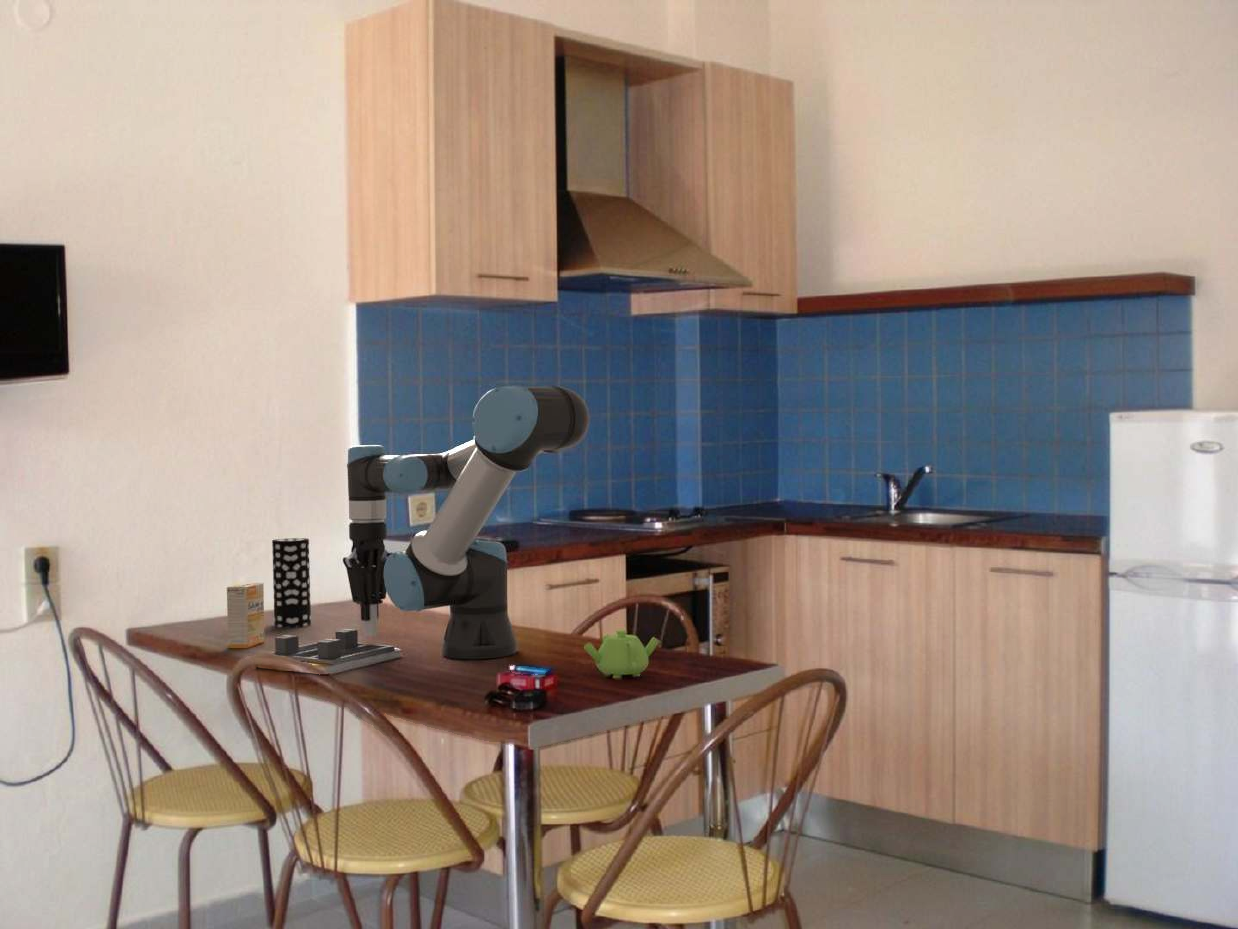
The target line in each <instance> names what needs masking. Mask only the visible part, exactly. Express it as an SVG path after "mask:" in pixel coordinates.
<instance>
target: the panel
mask: <svg viewBox="0 0 1238 929" xmlns="http://www.w3.org/2000/svg"><path fill="white" fill-rule="evenodd" d="M298 646H299V653H296V654H292V655H280V654H276V650H275V651H272V652H270V653H271V654H275V655H278V656H286V657H289V658H292V659H295V660H299V661H301V662H307V663H309V664H312V665H313V666H315V667H317V668H319V669H322V670H324V671H325V672H328V673H330V675H333V674H337V673H341V672H342V673H343V672H346V671H350V670H355V669H358V668H362V667H365V666H366V667H368V666H371V665H374V664H378V663H382V662H386V661H390V660H395V659H399V658H402V657H403V656H402V655H403V654H402V649H400V648H398V647H395V645H388V644H387V645H384V644H378V643H377V644H376V643H375V644H374V643H366V642H365V643H364V642H363V643H362V642H358V647H353V648H349V649H344V650H341V657H340V658H335V659H331V660H330V659H320V658H318V648H317V642H313V643H310V644H309V643H308V644H305V645H304V644H303V645H298Z"/></svg>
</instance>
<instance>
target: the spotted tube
mask: <svg viewBox="0 0 1238 929" xmlns="http://www.w3.org/2000/svg"><path fill="white" fill-rule="evenodd" d="M271 544H272V545H271V546H272V548H271V549H272V574H273V575H272V576H273V579H272V580H273V586H272V588H273V615H274V616H273V618H274V619H273V620H274V623H273V624H274V627H276V628H289V629H291V628H292V629H293V628H300V627H301V628H302V627H307V626H310V625H311V624H312V616H311V615H312V614H311V613H312V612H311V611H312V610H311V609H312V608H311V605H312V604H311V572H310V569H311V568H310V566H311V565H310V539H309V538H305V537H304V538H303V537H301V538H300V537H295V538H294V537H293V538H292V537H290V538H287V537H286V538H277V539H272V542H271Z"/></svg>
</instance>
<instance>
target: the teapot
mask: <svg viewBox="0 0 1238 929" xmlns="http://www.w3.org/2000/svg"><path fill="white" fill-rule="evenodd" d="M627 633H628V631H627V630H625V629H618V630H616V634H613V635H612V634H611V635H604V636H603V637H602V638H601V640H602V643H601V645H600V647H599V649H598V650H597V649H596V648H595V646H594V645H593V644H592V642H587V643H585V645H584V646H583V649H584V650H585V651H586V652H587V653H588V655H589V656H590V657H591V658H592V659H593V660H594V662H595V665H596V667H597V669H598V670H599V671H600V672H601V673H602V674H603V675H604V674H605V675H611V674H613V675H612V678H620V677H621V678H622V676H625V675H631V676H632V675H633V676H640V675H641V673H643V672H644V671H645V670H646V669H647V668H648V666H649V664H650V663H649V657H650V656H651V654H652V653H653V652H654V650H655V649H656V648H657V646H658V645H659V643H660V642H661V641H660V640H659V639H658V638H656V637H654V636H652V637H651V639H650V641H649V642H648V643H647V645H646V646H644V645H643V643H642V642H641V640H640V638H639V637H638V636H637V635H634V634H627ZM633 676H632V677H633Z"/></svg>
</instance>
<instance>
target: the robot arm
mask: <svg viewBox="0 0 1238 929" xmlns="http://www.w3.org/2000/svg"><path fill="white" fill-rule="evenodd" d="M472 419H474V422H472V423H471V424H472V426H471V427H472V432H473V435H474V436H473V439H472V440H470V441H468V442H465V443H464V444H461V445H459V446H456V447H454V448H452V449H450V450H448V451H445V452H442V453H428V454H427V453H425V454H404V455H403V454H399V455H398V454H397V455H393V454H392V455H386V450H385V447H384V446H382V444H381V445H380V444H379V445H378V444H368V445H367V444H365V445H352V446H350V447H349V448H348V450H347V463H346V468H347V469H346V470H347V489H348V490H347V495H348V519H349V520H350V521H351V522H349V524H348V534H349V535H348V536H349V540H350V541H351V542H352V547H351V553H350V554H349V555H348V556H346V557H343V558H342V563H343V565H344V567H345V570H346V573H347V577H348V583H349V589H350V594H351V598H352V602H353V603H355V604H356V605H360V620H361V622H362V637H368V638H369V637H371V638H374V637H378V631H379V630H378V619H379V605H381V604H383V602H384V600H385V599H386V597H387V595H388V598H389V600H390V601H391V603H392V604H393V605H394V606H395V607H396V608H397V609H398V610H402V611H404V612H413V611H414V612H420V611H424V610H431V609H436V608H443V607H449V619H448V622H447V626H446V630H445V633H444V635H443V636H444V637H443V640H442V642H441V655H442V656H443V657H446V658H450V659H456V660H457V659H460V660H461V659H462V660H483V659H485V660H486V659H488V660H489V659H496V658H503V657H504V658H505V657H508V656H513V655H516V654H517V653H516V652H518V641H517V638H516V636H515V632H514V629H513V625H512V622H511V621H510V620H511V619H510V616H509V612H508V608H509V606H508V562H509V561H508V560H507V549H506V546H505V545H504V544H503V543H502V542H499V541H492V540H478V539H477V540H475V539H476V538H477V537H478V535H479V533H480V531H481V530H482V529H483V526H484V525H485V523H486V521H487V520H488V518H489V517H490V515H491V514H492V512H493V510H494V509H495V507H496V506H497V504H498V502H499V501H500V499H501V498H502V497H503V494H504V493H505V491H506V490H507V488H508V487H509V485H510V483H511V481H512V480H513V478H514V477H515V474H516V473H521V472H525V471H527V470H528V469H529V468H530V466H531V465H532V464H533V462H534V461H535V459H536V458H537V456H538V455H539V454H541V453H545V454H550V455H553V454H556V453H559V452H562V451H563V450H566V449H570V448H572V447H575V446H576V445H578V444H579V443H580V442H581V441H583V439H584V438H585V436H586V435H587V433H588V430H589V427H590V412H589V407H588V406H587V404H586V401H585V400H584V399H583V397H581V396H580V394H578V393H577V392H576V391H574V390H572V389H570V388H567V387H563V386H553V385H552V386H522V385H515V384H514V385H507V386H505V385H504V386H499V387H496V388H492V389H490V390H489V391H487V392H486V393H484V395H482V396H481V398H480V399H479V400H478V403H477V404H476V405H475V408H474V410H473V414H472ZM432 491H433V492H434V491H450V492H449V493H448V495H447V496H446V498H445V499H444V502H443V503H442V505H441V506H440V508H439V510H437V513H436V515H435V517H434V518H433V520H432V522H431V523H430V525H429V527H428V528H427V529H426V530H422V531H419V532H418V533H416V534H415V536H414V537H413V538H412V540H411V542H410V543H409V545H407V548H406V549H405V550H404V551H402V550H397V551H396V552H395V551H394V552H392V551H391V552H390V551H387V549H386V545H385V543H384V541H385V540H386V539H387V537H388V535H387V531H388V530H387V522H386V521H384V520H385V519H386V518H387V497H386V496H387V494H388V493H390V494H397V495H410V494H411V495H412V494H416V493H421V492H432ZM386 493H387V494H386Z"/></svg>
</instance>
